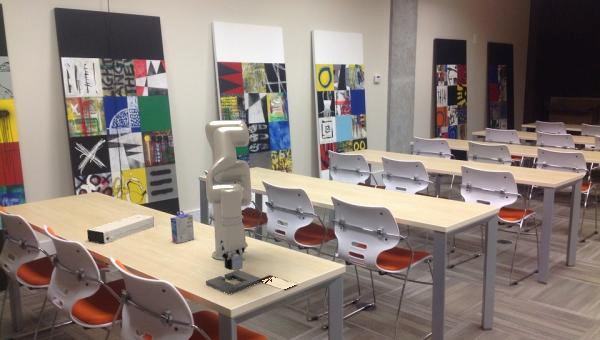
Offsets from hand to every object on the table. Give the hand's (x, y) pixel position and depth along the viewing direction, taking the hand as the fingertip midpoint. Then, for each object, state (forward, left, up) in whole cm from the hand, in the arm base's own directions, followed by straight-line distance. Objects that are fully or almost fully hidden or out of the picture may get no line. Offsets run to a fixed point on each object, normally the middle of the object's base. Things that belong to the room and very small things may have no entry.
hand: (233, 266), depth 197 cm
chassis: (0, 0, -7) cm, 7 cm away
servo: (0, 0, 0) cm, 0 cm away
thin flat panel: (-12, +12, -7) cm, 18 cm away
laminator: (-5, -95, -7) cm, 96 cm away
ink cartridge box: (-19, -62, -7) cm, 65 cm away
